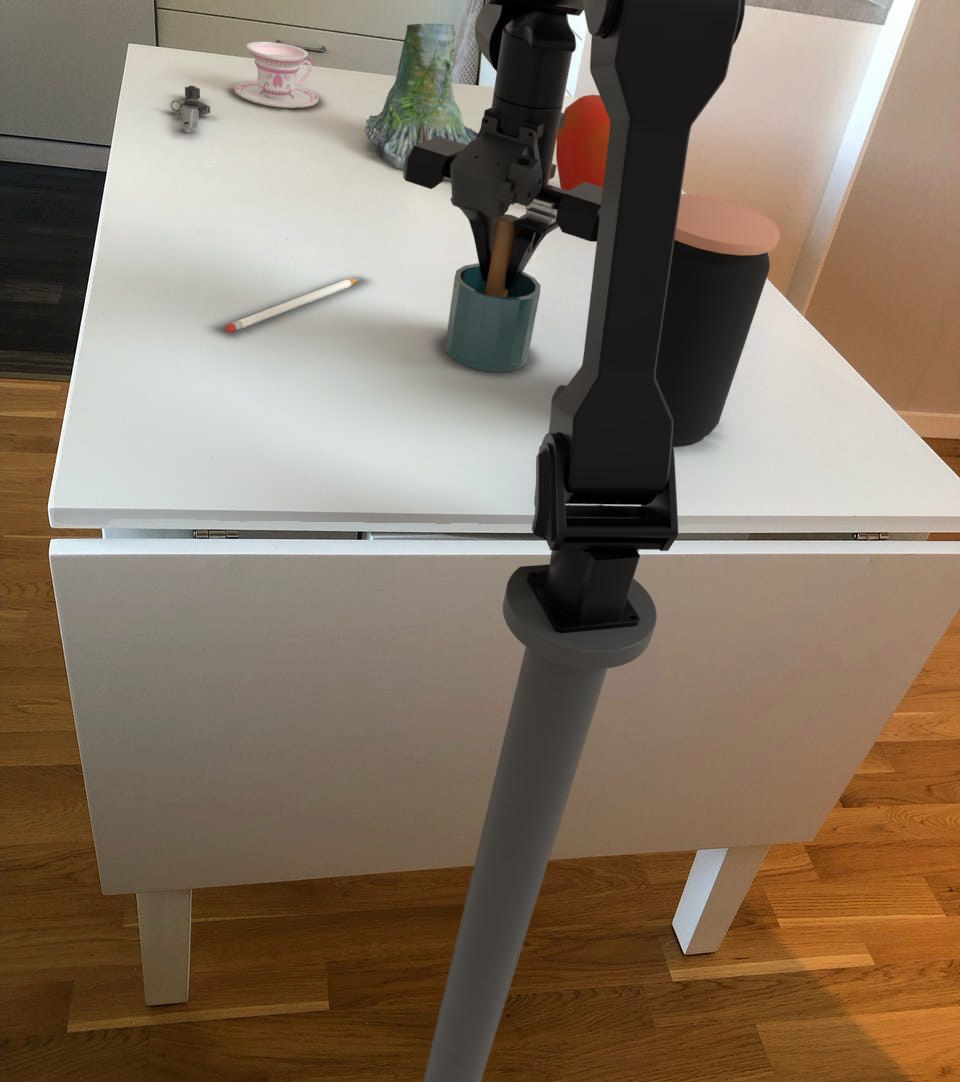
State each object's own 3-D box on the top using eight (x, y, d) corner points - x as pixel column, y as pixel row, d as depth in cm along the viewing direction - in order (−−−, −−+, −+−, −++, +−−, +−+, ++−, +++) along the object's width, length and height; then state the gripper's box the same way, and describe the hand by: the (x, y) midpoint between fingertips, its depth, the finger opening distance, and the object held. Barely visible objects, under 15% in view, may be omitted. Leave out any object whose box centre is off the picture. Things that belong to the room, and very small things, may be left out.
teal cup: (538, 371, 100) (552, 300, 96) (459, 372, 98) (470, 299, 93) (511, 333, 106) (523, 264, 101) (435, 333, 103) (444, 262, 99)
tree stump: (410, 189, 134) (401, 24, 125) (342, 174, 149) (330, 26, 140) (532, 177, 142) (532, 20, 134) (456, 164, 157) (451, 22, 148)
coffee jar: (739, 438, 96) (808, 238, 85) (651, 459, 91) (713, 249, 79) (661, 382, 102) (716, 189, 91) (574, 400, 97) (621, 197, 85)
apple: (566, 227, 131) (591, 103, 122) (527, 191, 139) (548, 72, 130) (653, 228, 136) (683, 109, 127) (611, 193, 144) (636, 79, 135)
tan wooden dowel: (507, 310, 98) (523, 222, 93) (487, 310, 98) (501, 221, 93) (500, 301, 100) (515, 214, 95) (480, 300, 99) (494, 213, 94)
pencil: (224, 331, 97) (224, 324, 97) (355, 280, 110) (356, 274, 110) (231, 334, 97) (231, 327, 97) (361, 283, 110) (362, 277, 109)
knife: (208, 126, 133) (166, 121, 132) (208, 142, 135) (166, 138, 134) (211, 85, 147) (173, 81, 146) (211, 101, 149) (173, 97, 147)
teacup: (235, 104, 149) (235, 55, 145) (232, 80, 158) (232, 33, 154) (322, 113, 152) (325, 65, 148) (315, 89, 160) (317, 43, 157)
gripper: (378, 83, 84) (362, 277, 94) (595, 149, 79) (554, 346, 89) (445, 64, 92) (424, 244, 102) (646, 123, 87) (603, 306, 97)
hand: (497, 284), depth 97 cm, fingers closed on tan wooden dowel, 2 cm apart
